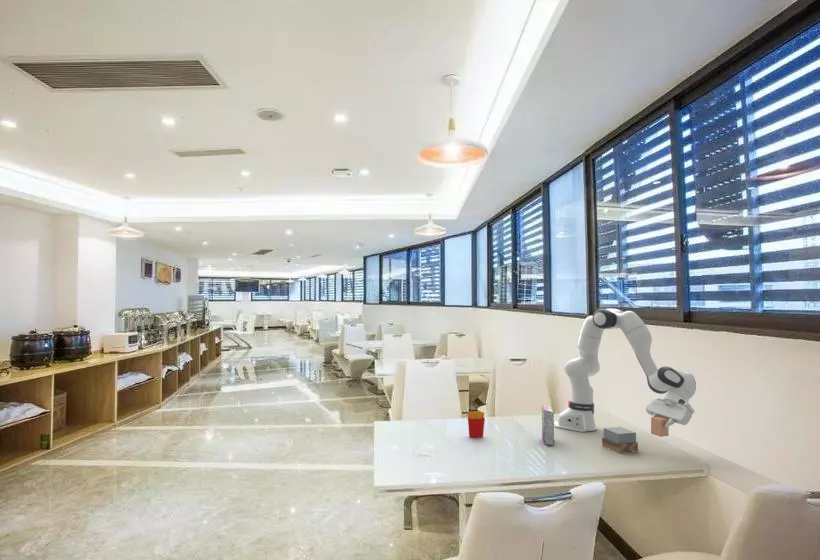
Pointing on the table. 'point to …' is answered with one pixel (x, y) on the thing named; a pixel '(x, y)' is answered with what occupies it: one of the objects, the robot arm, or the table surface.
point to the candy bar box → (547, 425)
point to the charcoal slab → (619, 435)
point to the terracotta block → (659, 426)
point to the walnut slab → (619, 446)
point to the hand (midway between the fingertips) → (658, 425)
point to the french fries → (476, 424)
